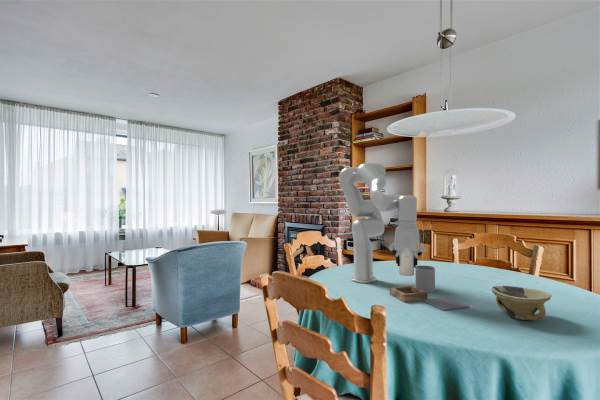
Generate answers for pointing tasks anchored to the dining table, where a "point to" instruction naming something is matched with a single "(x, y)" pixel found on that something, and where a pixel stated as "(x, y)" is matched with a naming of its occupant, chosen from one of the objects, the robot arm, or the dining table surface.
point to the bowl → (521, 302)
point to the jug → (406, 262)
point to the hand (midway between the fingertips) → (406, 265)
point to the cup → (425, 278)
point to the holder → (408, 293)
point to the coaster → (446, 303)
